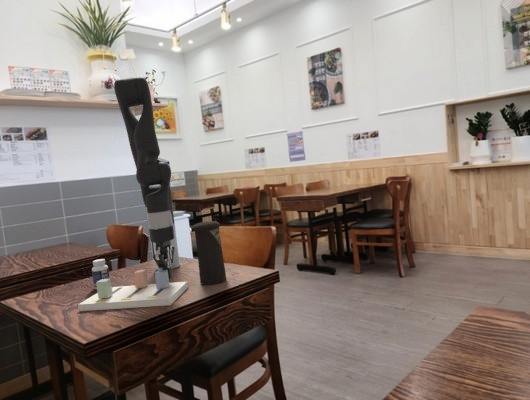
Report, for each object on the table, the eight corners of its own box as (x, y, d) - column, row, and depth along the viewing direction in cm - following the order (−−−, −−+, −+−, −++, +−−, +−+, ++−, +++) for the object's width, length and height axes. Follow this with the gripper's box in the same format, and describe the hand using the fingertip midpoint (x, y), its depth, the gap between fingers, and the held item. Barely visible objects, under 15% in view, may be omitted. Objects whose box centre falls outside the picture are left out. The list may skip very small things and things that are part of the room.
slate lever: (160, 285, 127) (158, 270, 127) (169, 285, 127) (167, 269, 127) (156, 289, 124) (154, 273, 124) (166, 288, 124) (163, 272, 124)
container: (229, 281, 132) (222, 220, 130) (202, 287, 129) (195, 225, 127) (222, 275, 140) (215, 218, 138) (197, 281, 137) (189, 222, 135)
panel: (106, 293, 134) (106, 287, 134) (188, 287, 131) (187, 281, 130) (79, 311, 119) (78, 304, 118) (170, 305, 115) (169, 297, 115)
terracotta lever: (139, 285, 131) (137, 270, 131) (148, 284, 131) (146, 269, 130) (135, 288, 128) (133, 272, 128) (144, 287, 128) (142, 272, 127)
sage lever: (103, 295, 124) (101, 279, 124) (112, 294, 124) (110, 278, 123) (98, 298, 121) (96, 282, 121) (107, 297, 121) (105, 281, 120)
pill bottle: (105, 289, 140) (100, 261, 139) (91, 290, 141) (87, 262, 140) (113, 284, 145) (109, 257, 144) (100, 285, 146) (96, 258, 145)
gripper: (157, 223, 135) (164, 274, 137) (140, 230, 122) (148, 286, 124) (179, 221, 134) (185, 272, 136) (164, 228, 121) (172, 284, 123)
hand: (167, 279), depth 130 cm, fingers closed
